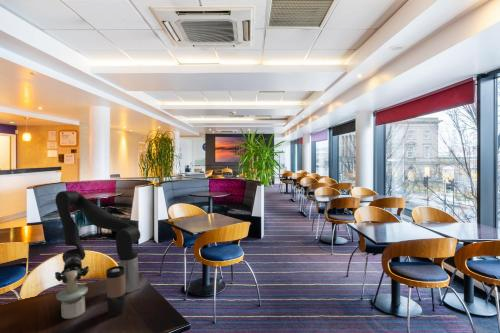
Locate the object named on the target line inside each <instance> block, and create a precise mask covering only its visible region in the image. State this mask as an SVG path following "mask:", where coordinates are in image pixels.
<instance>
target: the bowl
mask: <svg viewBox="0 0 500 333" xmlns="http://www.w3.org/2000/svg"><path fill="white" fill-rule="evenodd" d="M85 296H86V295H83V296H81V297H79V298H77V299H74V300H69V301H60V302H61V304H60V307H61V308H60V309H61V310H60V311H61V318H63V319H69V320H70V319H73V318H76V317H79V316H80V315H81V316H82V315H83V314H84V313H85V312H86V298H85Z"/></svg>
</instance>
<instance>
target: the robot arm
mask: <svg viewBox="0 0 500 333" xmlns="http://www.w3.org/2000/svg"><path fill="white" fill-rule="evenodd" d="M54 199H55V205H56V208H57V212H58V216H59V219H60V221H61V226H62V230H63V236H64V238H63V239H64V245H65V246H66V247H67V246H72V247H73V246H74V247H75V248H73V249H69V250H65V251H64V252H63V254H62V256H61V257H62V261H63V263H64V265H63V270H62V271H61V272H59V271H55V272H54V275H55V276H54V277H55V279H56V280H57V282H62V283H63V284H66V273H67V272H69V271H73V270H76V271H77V281H78V282H79V281H80V280H81V279H82V277H86V275H87V274H89V270H90V268H89V266H88V265H87V266H85V267H83V264H82V263H83V262H82V261H84V260H85V257H86V251H85V249H84V247H83V245H82V242H81V238H80V230H79V227H78V225H77V222H76V221H74V218H73V216H72V214H71V212H70V208H76V209H77V210H79V211H81V212H82V213H83V216H84V218H85V220H86V221H87V222H89V223H90V224H92V225H93V226H95V227H98V228H99V229H104V230H108V231H112V232H115V233H116V236H115V245H116V253H117V256H118V266H123V267H124V272H125V294H127V293H128V294H129V293H132V292H136V291H137V290H139V289H140V270H139V262H138V261H139V259H138V258H139V253H138V250H136V249H134V248H133V244H135V243H136V242H137V241H139V240H140V239H141V232H140V230H139V228H138V227H136V226H134V225H133V224H130V223H128V222H126V221H123V220H122V219H120V218H118V217H116V216H115V215H113V214H111V213H110V212H109V211H107V210H106V209H104V208H102V207H100V206H99V205H97V204H95V203H93V202H92V201H90V200H89V199H88V198H86V197H85V196H84V195H82V194H81V193H80V192H78V191H76V190H61V191H58V193H56V196H55V198H54Z"/></svg>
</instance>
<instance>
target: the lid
mask: <svg viewBox="0 0 500 333" xmlns="http://www.w3.org/2000/svg"><path fill="white" fill-rule="evenodd" d="M78 282H79V281H77V271H76V270H73V271H69V272H67V273H66V283H65V284H66V286H65V287H66V288H63V289H62V290H61V289H60V291H58V292H57V293H56V297H55V299H56V300H58V301H60V302H62V301H69V300H74V299H77V298H79V297H81V296H86V295H87V293H88V291H89V290H88V289H89V288H88V286H87V285H83V284H79V283H78Z"/></svg>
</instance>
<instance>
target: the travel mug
mask: <svg viewBox="0 0 500 333" xmlns="http://www.w3.org/2000/svg"><path fill="white" fill-rule="evenodd" d="M105 273H106V275H105V277H106V302H107V314H108V316H109V315H110V317H117V316H120V315H123V314H124V313H125V311H126V293H125V272H124V267H123V266H119V265H116V266H112V267H109V268H107V269H106V271H105Z"/></svg>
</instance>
